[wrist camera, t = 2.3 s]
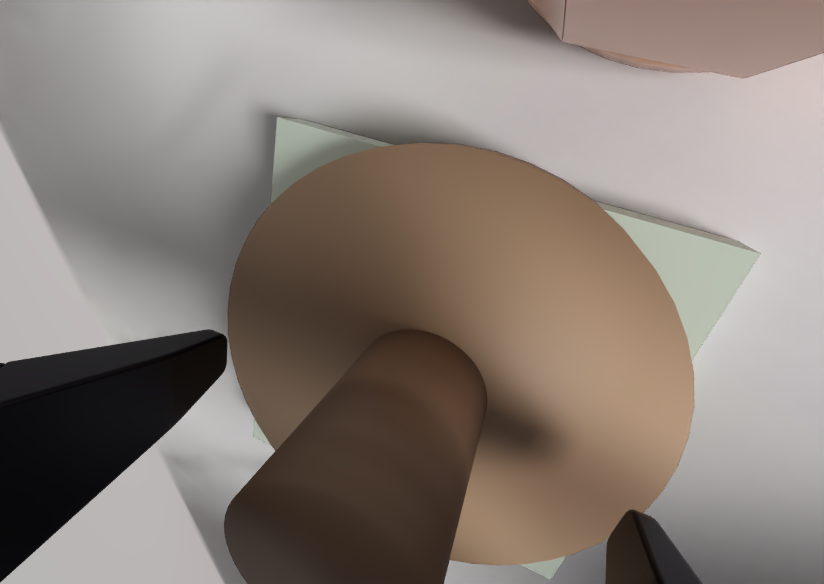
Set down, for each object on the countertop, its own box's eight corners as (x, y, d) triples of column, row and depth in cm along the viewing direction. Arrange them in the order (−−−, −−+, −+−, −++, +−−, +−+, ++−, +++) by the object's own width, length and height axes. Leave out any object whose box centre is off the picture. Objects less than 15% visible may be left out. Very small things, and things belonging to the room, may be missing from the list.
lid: (561, 597, 11) (567, 923, 7) (240, 440, 14) (74, 601, 9) (810, 235, 7) (1422, 463, 2) (259, 87, 9) (-67, 31, 4)
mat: (551, 547, 12) (550, 580, 11) (272, 417, 14) (253, 436, 13) (737, 241, 8) (761, 253, 7) (301, 119, 10) (277, 117, 9)
